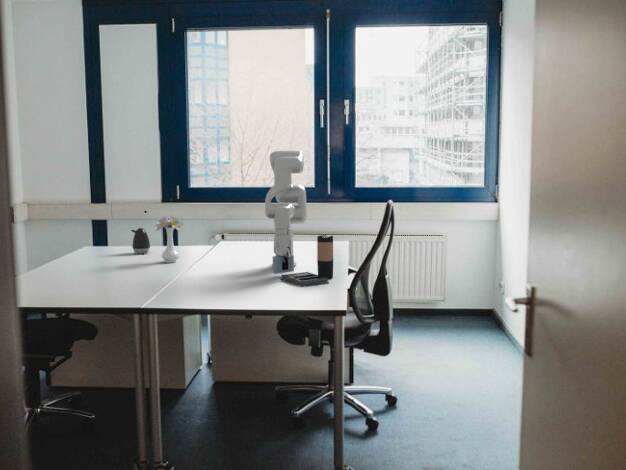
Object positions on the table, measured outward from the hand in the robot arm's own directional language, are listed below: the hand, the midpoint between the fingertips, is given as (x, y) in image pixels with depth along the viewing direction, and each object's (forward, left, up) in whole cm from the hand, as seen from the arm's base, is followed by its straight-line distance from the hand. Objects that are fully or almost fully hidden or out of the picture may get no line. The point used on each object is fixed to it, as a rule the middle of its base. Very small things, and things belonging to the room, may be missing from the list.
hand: (283, 268), depth 332 cm
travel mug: (+15, +14, -4) cm, 21 cm away
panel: (0, 0, -2) cm, 2 cm away
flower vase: (-71, -31, -4) cm, 77 cm away
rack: (+17, +1, -4) cm, 17 cm away
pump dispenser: (-108, -35, -4) cm, 113 cm away
